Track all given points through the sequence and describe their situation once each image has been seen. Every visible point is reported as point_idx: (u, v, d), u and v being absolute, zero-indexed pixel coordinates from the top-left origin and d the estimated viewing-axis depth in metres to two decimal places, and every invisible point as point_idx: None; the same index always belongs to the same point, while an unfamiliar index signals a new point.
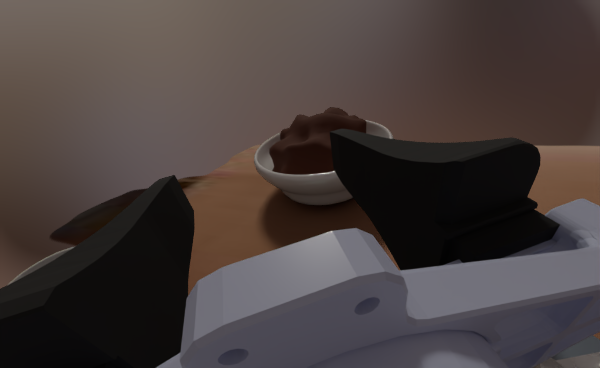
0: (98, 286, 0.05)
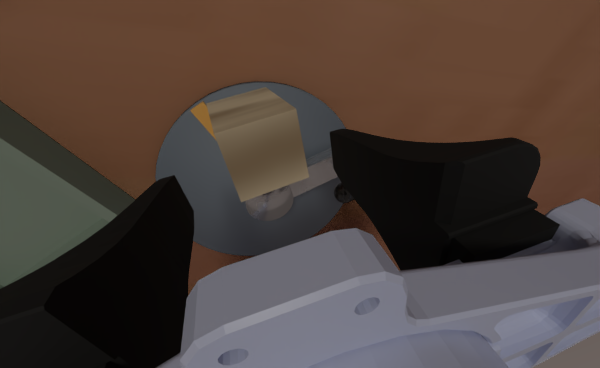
0: (98, 286, 0.05)
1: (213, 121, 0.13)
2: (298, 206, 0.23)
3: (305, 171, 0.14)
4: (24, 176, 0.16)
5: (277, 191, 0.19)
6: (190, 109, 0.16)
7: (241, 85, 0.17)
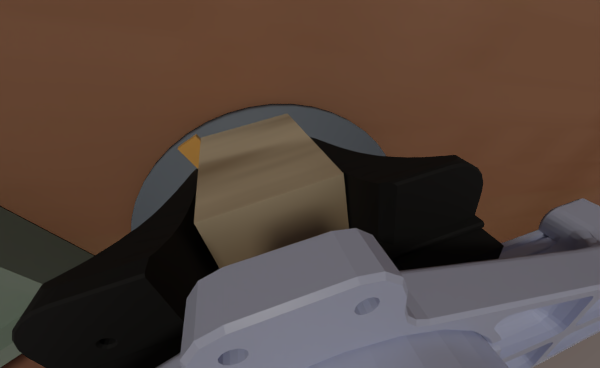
0: (174, 262, 0.05)
1: (201, 185, 0.08)
2: None
3: None
4: None
5: None
6: (178, 146, 0.11)
7: (252, 111, 0.11)
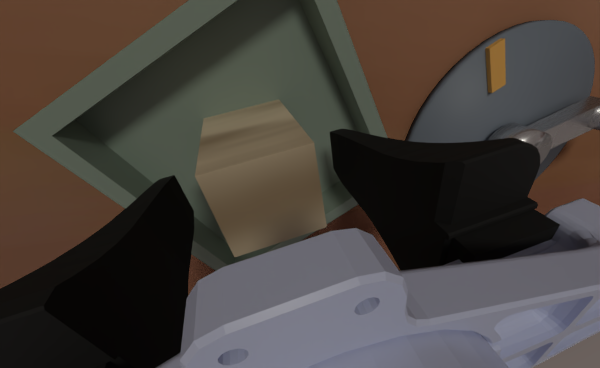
0: (98, 286, 0.05)
1: (202, 152, 0.09)
2: None
3: (322, 220, 0.10)
4: (311, 119, 0.14)
5: (541, 144, 0.17)
6: (485, 47, 0.15)
7: (538, 22, 0.15)
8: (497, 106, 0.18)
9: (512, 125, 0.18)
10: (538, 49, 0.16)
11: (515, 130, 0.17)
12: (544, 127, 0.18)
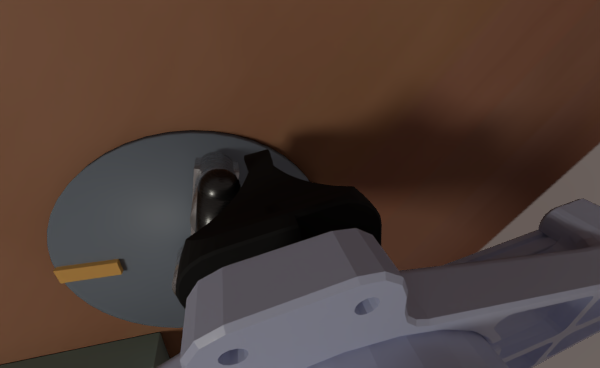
0: None
1: None
2: None
3: None
4: None
5: None
6: None
7: (49, 229, 0.13)
8: (149, 258, 0.15)
9: (176, 259, 0.15)
10: (87, 225, 0.13)
11: None
12: None
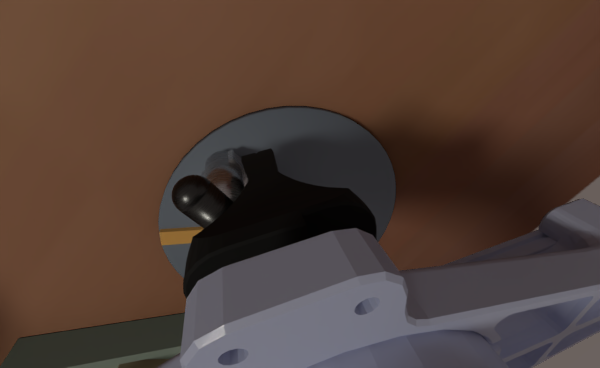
0: None
1: None
2: None
3: None
4: None
5: None
6: None
7: (166, 190, 0.14)
8: None
9: None
10: None
11: None
12: None
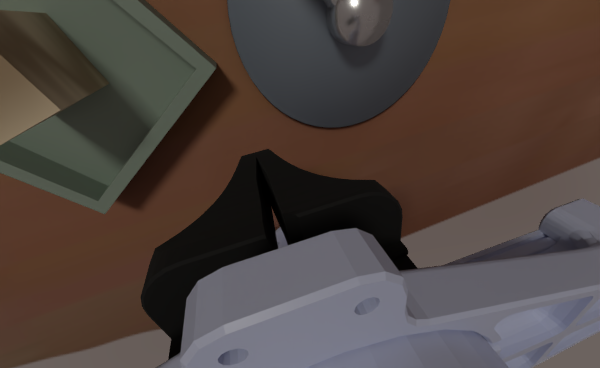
0: (267, 232, 0.05)
1: None
2: (388, 45, 0.19)
3: (47, 102, 0.11)
4: (97, 29, 0.14)
5: (350, 8, 0.15)
6: None
7: None
8: None
9: (332, 33, 0.17)
10: None
11: (339, 38, 0.17)
12: None
